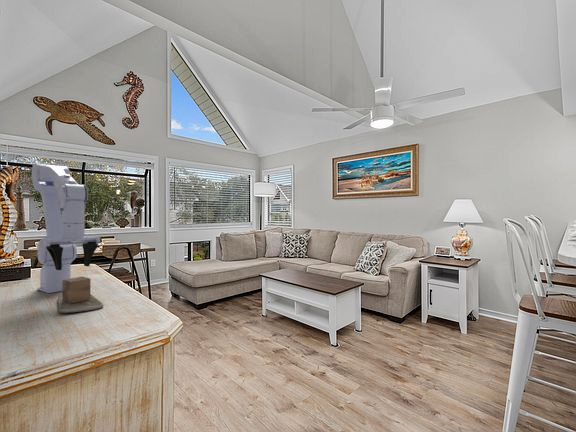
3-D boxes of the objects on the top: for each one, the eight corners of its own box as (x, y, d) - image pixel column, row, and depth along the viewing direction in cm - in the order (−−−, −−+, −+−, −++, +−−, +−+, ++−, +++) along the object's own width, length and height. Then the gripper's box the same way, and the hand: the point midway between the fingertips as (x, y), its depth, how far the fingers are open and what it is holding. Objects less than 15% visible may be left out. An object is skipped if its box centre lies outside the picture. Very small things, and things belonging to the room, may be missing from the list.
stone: (105, 306, 83) (60, 309, 77) (103, 316, 83) (58, 321, 77) (92, 288, 97) (53, 290, 90) (91, 297, 97) (52, 299, 90)
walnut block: (62, 300, 85) (62, 279, 85) (81, 296, 90) (81, 276, 89) (70, 303, 83) (70, 281, 83) (90, 299, 87) (90, 278, 87)
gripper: (50, 224, 84) (50, 273, 84) (104, 223, 96) (104, 265, 96) (40, 223, 88) (40, 270, 88) (93, 222, 100) (93, 263, 100)
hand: (73, 267), depth 92 cm, fingers open, 7 cm apart
